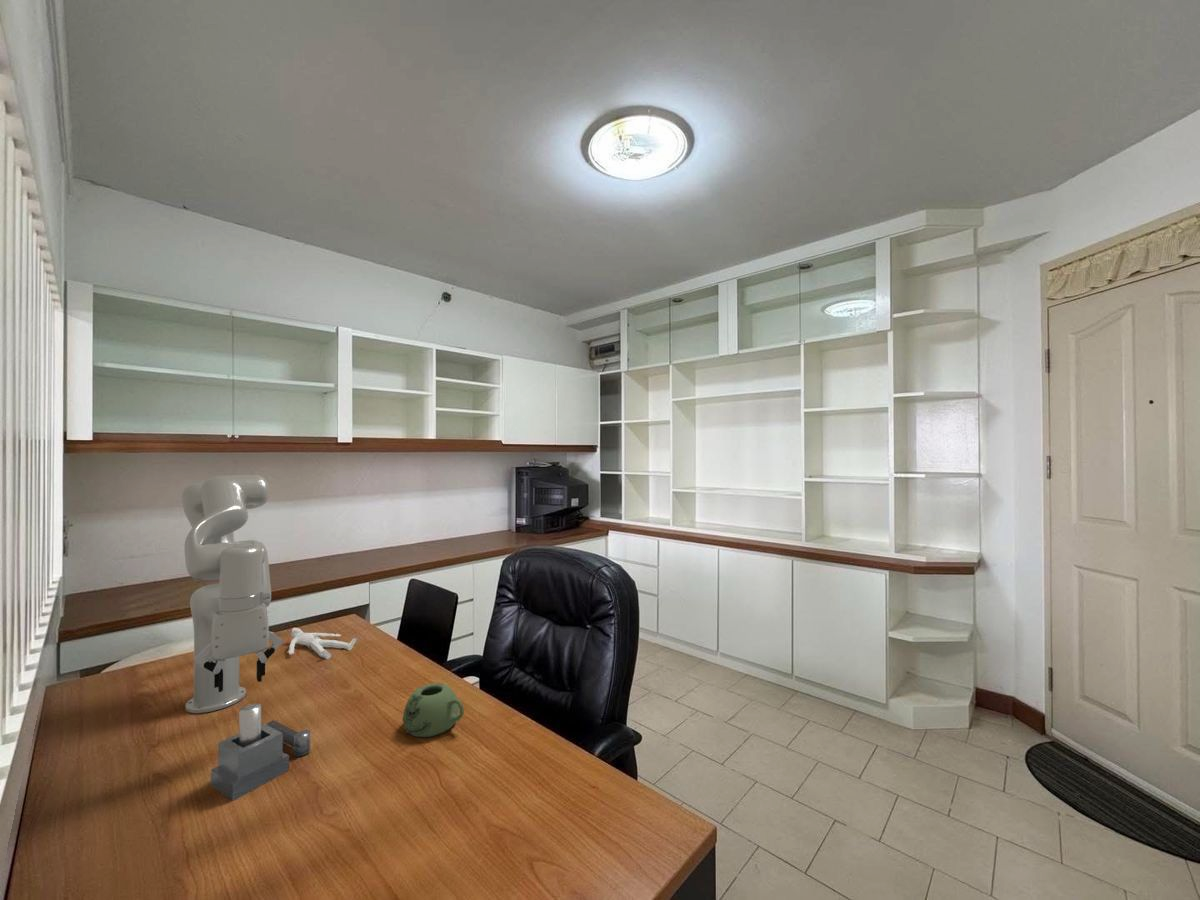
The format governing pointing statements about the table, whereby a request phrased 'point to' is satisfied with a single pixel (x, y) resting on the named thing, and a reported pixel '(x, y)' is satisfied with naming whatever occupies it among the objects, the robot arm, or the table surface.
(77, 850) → the table surface
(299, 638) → the figurine
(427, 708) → the mug
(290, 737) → the lever
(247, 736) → the rod
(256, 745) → the block
